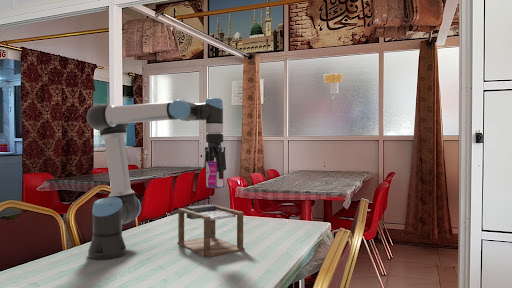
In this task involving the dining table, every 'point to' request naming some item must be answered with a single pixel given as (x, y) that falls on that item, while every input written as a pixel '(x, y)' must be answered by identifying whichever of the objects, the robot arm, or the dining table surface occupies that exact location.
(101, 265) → the dining table surface
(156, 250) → the dining table surface
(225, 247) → the frame
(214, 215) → the trapdoor
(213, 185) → the supplement box
